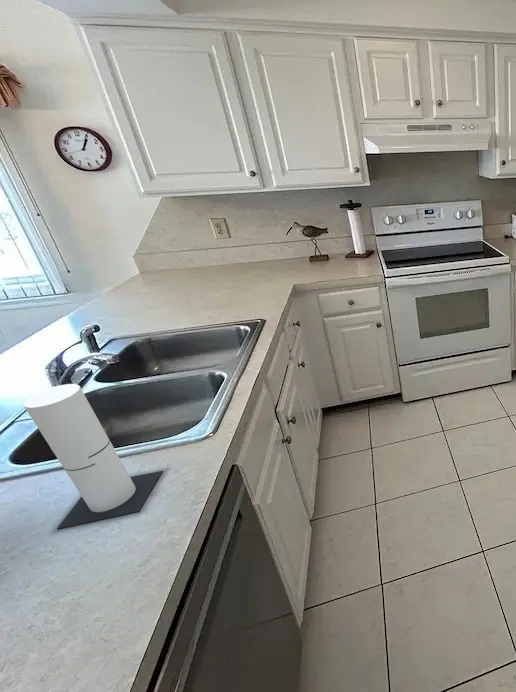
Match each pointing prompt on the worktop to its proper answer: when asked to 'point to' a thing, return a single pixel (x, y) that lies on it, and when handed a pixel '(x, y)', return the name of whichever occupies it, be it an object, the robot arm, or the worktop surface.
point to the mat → (132, 505)
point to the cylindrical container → (81, 446)
